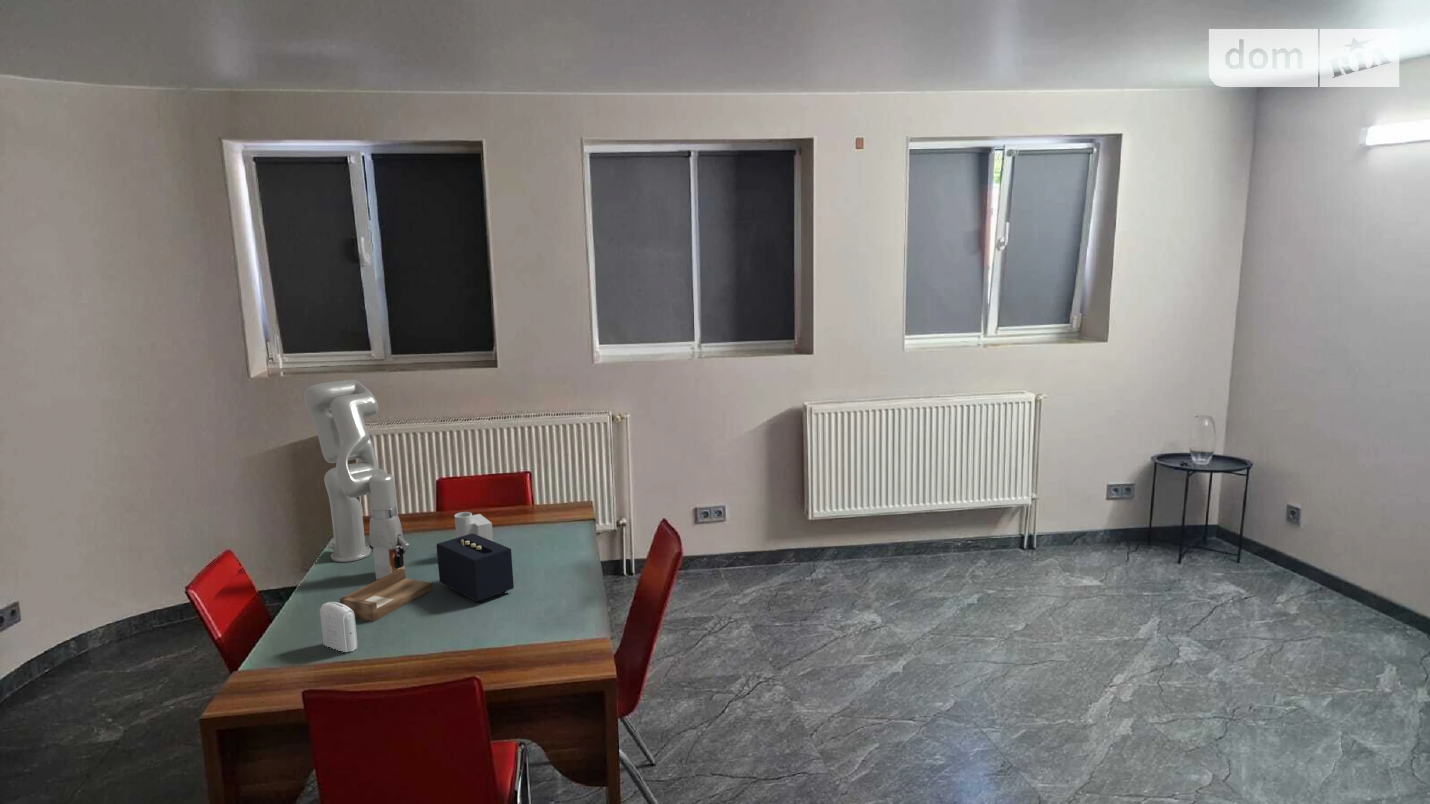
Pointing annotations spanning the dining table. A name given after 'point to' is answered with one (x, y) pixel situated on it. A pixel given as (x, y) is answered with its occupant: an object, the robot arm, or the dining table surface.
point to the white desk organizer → (473, 525)
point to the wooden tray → (384, 595)
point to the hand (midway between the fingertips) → (389, 565)
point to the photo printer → (338, 627)
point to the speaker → (475, 566)
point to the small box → (384, 562)
